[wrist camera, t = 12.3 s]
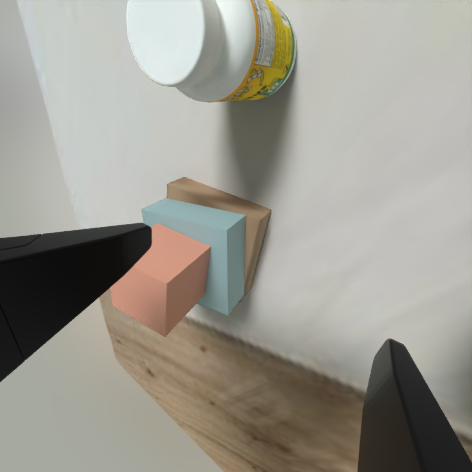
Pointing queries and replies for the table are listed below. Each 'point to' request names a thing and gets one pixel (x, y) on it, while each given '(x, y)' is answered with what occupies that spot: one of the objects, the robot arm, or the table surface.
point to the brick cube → (164, 280)
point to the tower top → (212, 234)
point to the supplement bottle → (213, 46)
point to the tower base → (220, 200)
